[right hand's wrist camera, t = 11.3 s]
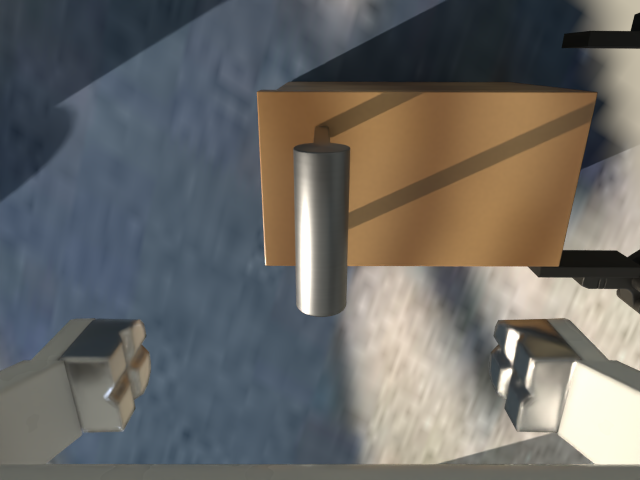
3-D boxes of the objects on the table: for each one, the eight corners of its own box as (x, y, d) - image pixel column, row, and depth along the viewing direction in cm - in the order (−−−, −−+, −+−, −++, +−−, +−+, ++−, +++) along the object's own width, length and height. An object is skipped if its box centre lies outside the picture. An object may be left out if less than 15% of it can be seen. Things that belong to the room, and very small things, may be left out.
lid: (267, 256, 26) (242, 348, 18) (260, 89, 23) (224, 106, 14) (548, 257, 26) (655, 350, 18) (584, 90, 23) (737, 108, 14)
